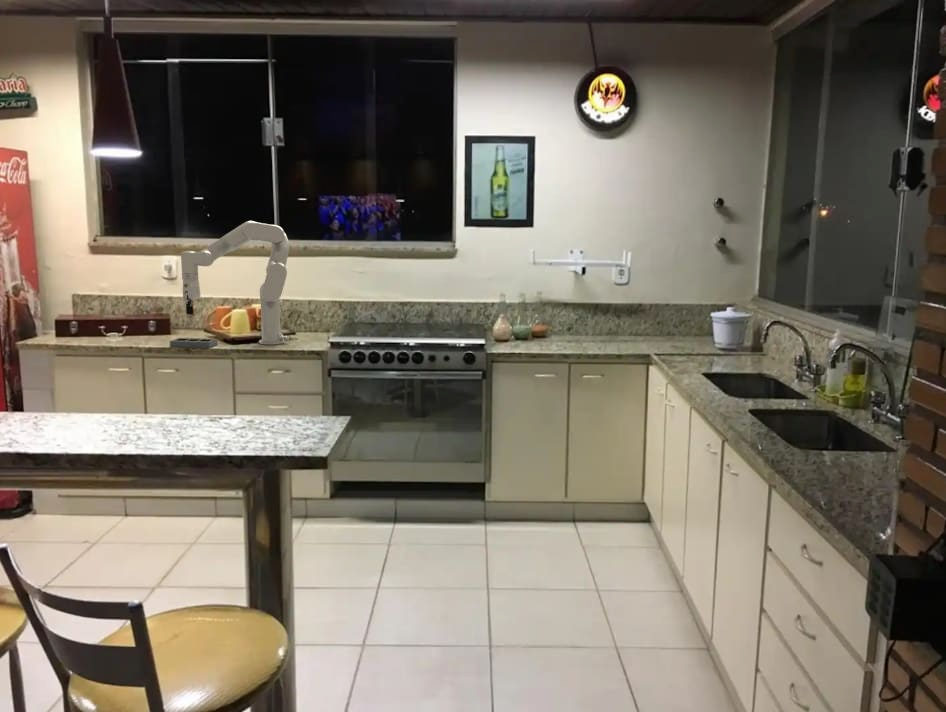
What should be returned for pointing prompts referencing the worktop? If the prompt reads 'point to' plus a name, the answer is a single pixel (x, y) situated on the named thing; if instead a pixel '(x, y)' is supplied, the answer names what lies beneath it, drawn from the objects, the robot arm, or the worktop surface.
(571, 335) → the worktop surface
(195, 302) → the beech peg
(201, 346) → the grey compartment tray
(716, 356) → the worktop surface
